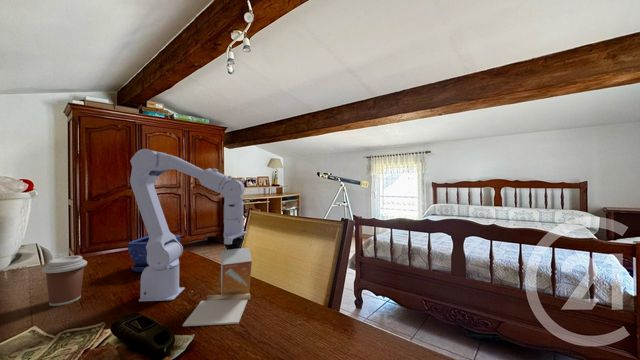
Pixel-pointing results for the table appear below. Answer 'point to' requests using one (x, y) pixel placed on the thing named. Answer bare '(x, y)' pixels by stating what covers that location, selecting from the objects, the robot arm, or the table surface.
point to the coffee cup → (64, 279)
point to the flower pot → (140, 258)
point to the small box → (235, 271)
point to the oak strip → (228, 297)
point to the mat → (217, 312)
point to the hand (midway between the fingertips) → (234, 261)
